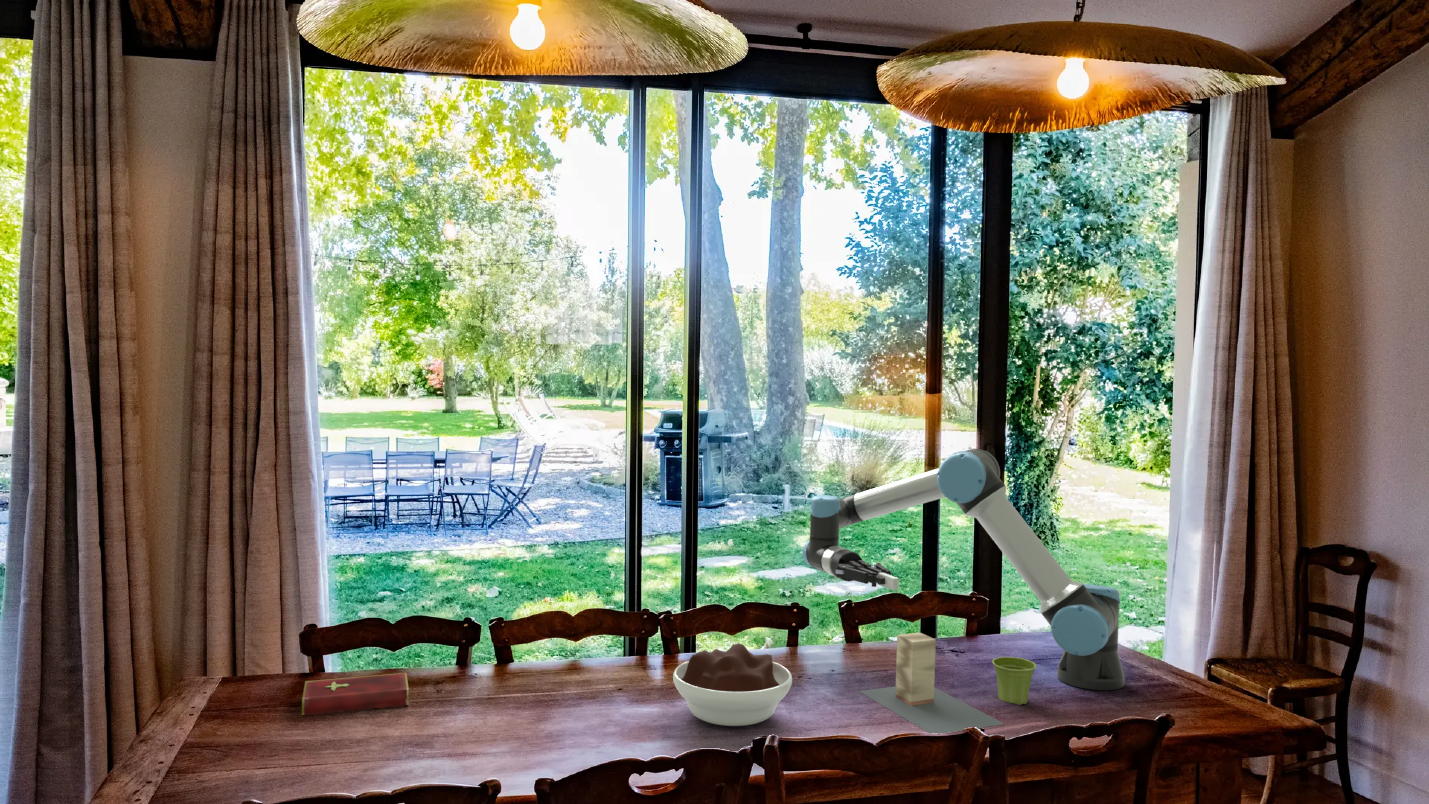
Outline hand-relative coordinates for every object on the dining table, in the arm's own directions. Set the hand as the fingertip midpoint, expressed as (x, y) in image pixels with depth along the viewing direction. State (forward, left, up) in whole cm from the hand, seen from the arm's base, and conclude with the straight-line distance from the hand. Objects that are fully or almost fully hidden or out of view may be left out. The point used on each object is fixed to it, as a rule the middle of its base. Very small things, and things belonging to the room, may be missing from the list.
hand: (895, 584), depth 223 cm
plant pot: (-24, -12, -25) cm, 36 cm away
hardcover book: (+82, +87, -25) cm, 122 cm away
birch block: (-8, +4, -24) cm, 25 cm away
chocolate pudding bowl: (+16, +39, -25) cm, 49 cm away
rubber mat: (-12, +6, -25) cm, 28 cm away
